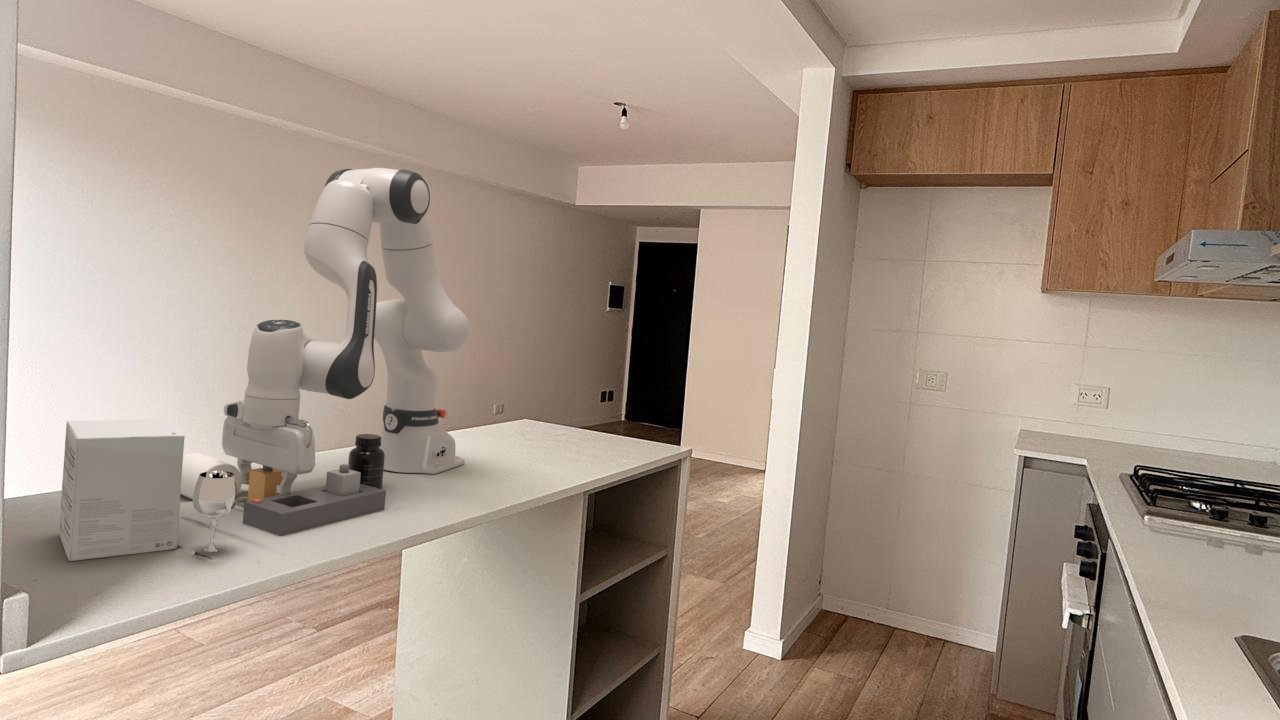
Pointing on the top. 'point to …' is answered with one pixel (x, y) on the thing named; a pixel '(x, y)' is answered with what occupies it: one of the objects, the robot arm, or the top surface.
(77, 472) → the supplement box
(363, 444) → the supplement bottle
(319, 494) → the strip
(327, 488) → the gray knobbed block
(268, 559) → the top surface
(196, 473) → the mug
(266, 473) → the plug
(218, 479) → the wineglass
